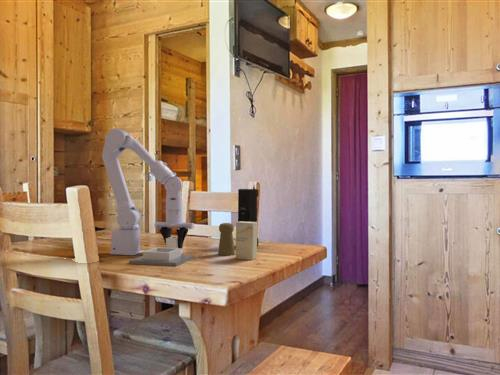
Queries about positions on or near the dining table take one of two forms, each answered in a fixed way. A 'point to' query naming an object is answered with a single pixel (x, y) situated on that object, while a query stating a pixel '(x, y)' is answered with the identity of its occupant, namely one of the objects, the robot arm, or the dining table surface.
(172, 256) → the outlet plate
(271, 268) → the dining table surface
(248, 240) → the skincare box
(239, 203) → the portable radio
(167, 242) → the brick
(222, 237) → the cork
